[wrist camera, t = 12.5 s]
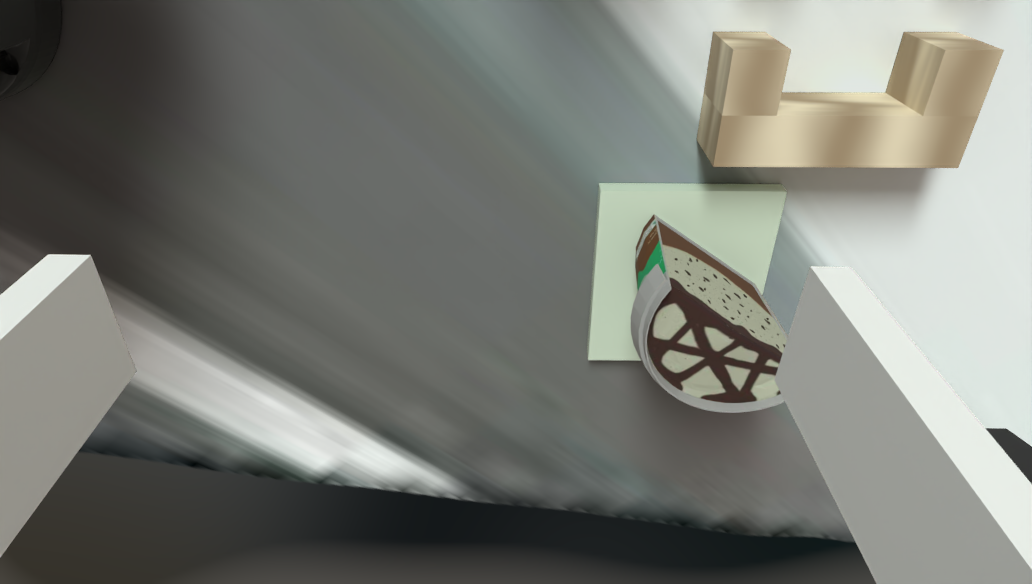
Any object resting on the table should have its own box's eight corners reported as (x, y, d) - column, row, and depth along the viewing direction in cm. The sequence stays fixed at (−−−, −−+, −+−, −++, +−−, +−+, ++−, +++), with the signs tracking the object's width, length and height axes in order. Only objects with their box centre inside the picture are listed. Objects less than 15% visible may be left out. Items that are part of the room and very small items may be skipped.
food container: (578, 268, 45) (589, 358, 37) (636, 201, 43) (662, 283, 34) (708, 349, 49) (745, 448, 41) (769, 293, 46) (823, 387, 38)
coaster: (587, 350, 51) (588, 360, 50) (598, 183, 43) (600, 190, 42) (741, 351, 51) (746, 361, 50) (781, 184, 43) (787, 191, 42)
